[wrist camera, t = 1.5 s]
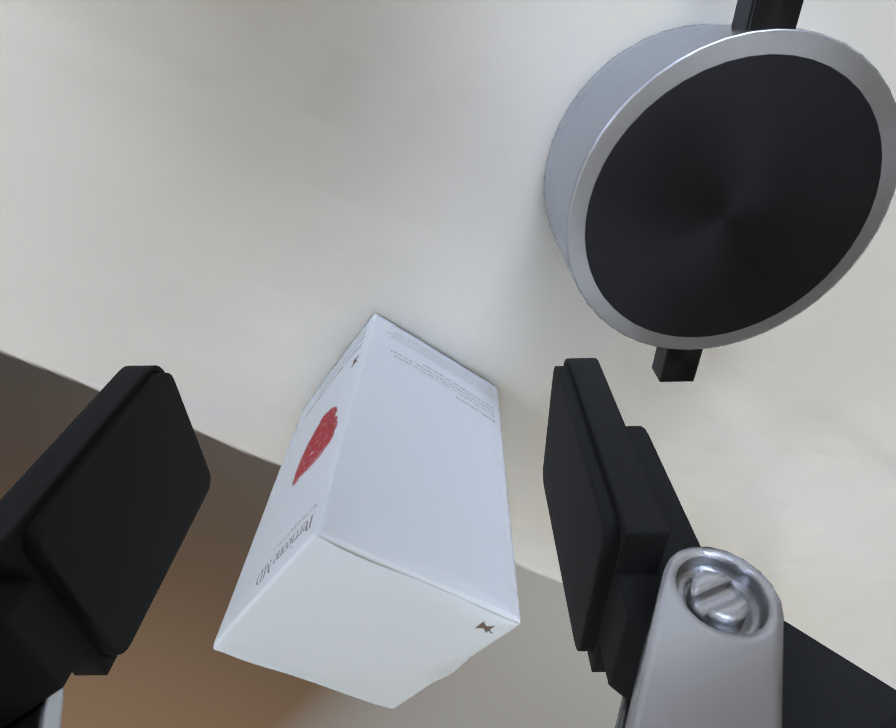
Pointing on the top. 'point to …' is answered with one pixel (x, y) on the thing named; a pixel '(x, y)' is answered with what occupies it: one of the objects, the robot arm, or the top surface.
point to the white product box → (382, 529)
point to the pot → (720, 180)
